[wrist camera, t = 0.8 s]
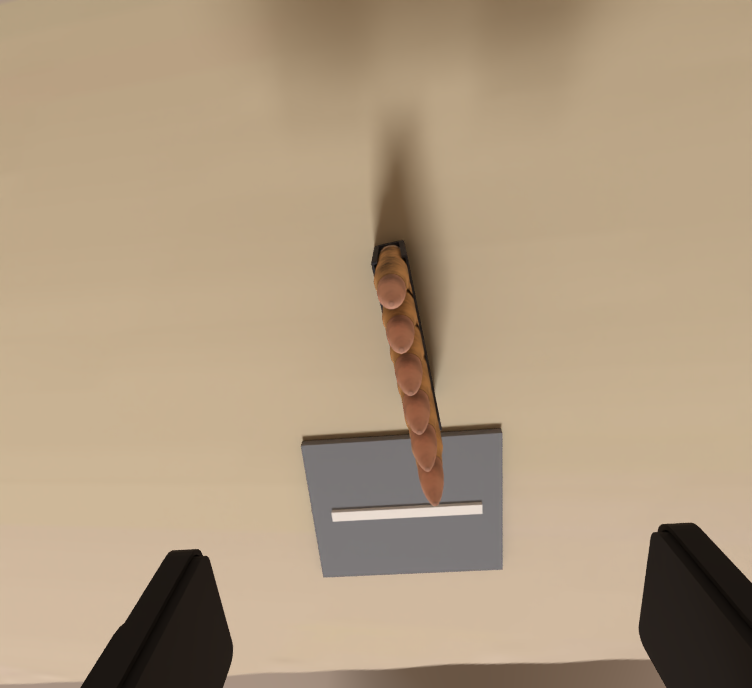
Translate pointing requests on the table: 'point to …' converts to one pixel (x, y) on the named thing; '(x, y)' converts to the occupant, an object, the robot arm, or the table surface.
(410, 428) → the ammunition clip
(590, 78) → the table surface
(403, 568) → the mat
